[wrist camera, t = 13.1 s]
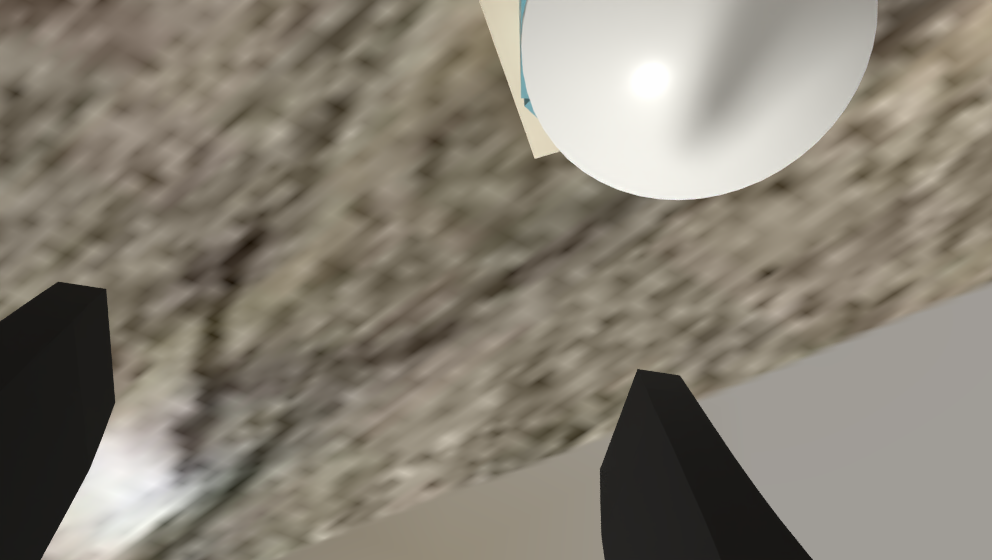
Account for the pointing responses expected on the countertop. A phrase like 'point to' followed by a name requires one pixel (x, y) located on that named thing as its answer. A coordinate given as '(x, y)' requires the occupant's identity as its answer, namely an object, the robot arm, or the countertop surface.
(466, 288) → the countertop surface
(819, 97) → the cap
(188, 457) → the countertop surface
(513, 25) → the stud
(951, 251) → the countertop surface
